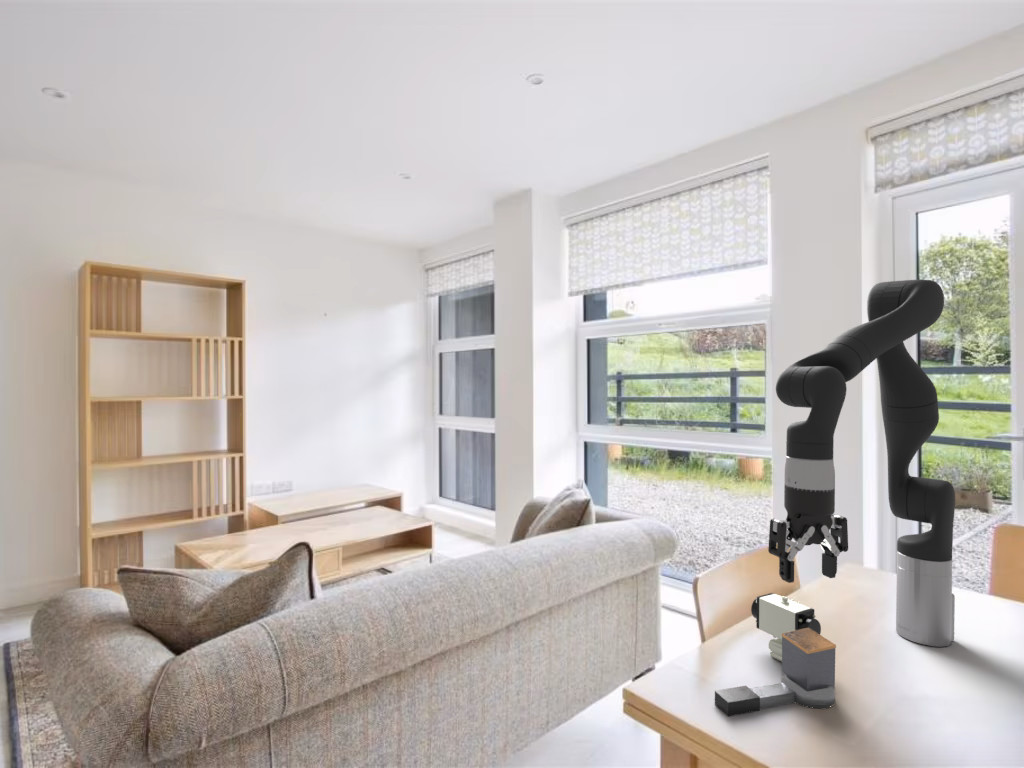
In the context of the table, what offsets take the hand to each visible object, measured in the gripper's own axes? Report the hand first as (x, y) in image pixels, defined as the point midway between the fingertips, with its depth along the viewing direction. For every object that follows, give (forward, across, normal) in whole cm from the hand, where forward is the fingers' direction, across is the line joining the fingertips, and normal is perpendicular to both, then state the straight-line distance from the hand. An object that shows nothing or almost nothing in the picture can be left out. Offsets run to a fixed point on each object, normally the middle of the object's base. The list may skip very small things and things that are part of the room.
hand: (808, 578), depth 92 cm
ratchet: (+20, -7, 0) cm, 21 cm away
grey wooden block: (+17, 0, 0) cm, 17 cm away
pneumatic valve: (+20, +5, +11) cm, 23 cm away
